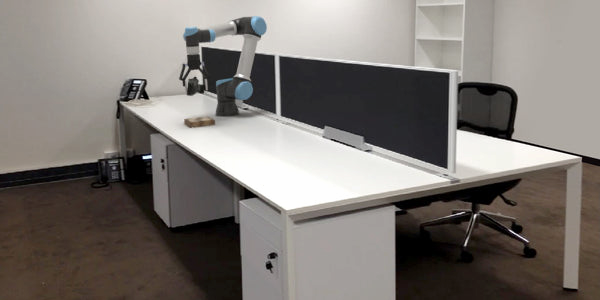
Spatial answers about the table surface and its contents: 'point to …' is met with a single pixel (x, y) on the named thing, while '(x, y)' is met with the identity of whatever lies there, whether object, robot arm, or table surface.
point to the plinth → (199, 122)
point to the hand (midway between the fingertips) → (196, 91)
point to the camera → (194, 87)
